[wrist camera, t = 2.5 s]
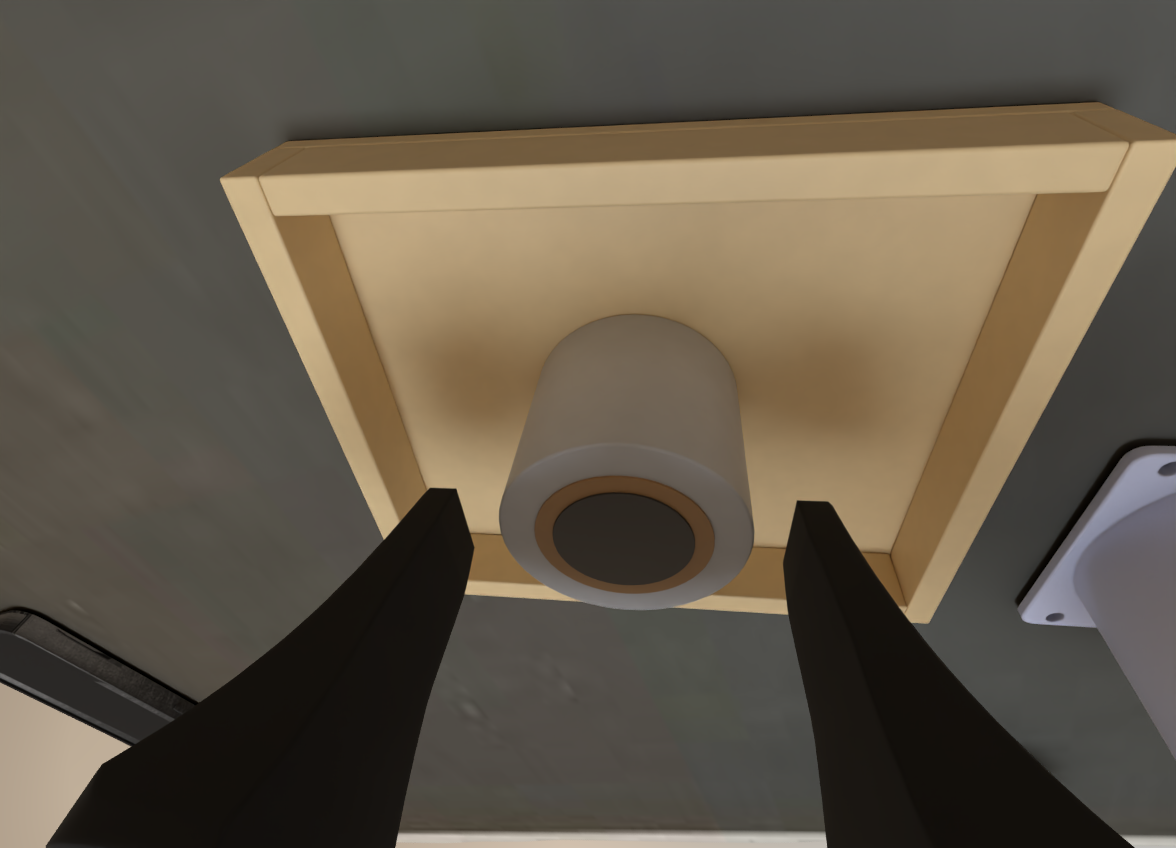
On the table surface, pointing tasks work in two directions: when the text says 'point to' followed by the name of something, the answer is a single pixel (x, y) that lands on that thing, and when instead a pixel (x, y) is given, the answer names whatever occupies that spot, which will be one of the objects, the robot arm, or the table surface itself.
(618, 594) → the tape roll
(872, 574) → the robot arm
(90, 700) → the phone
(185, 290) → the table surface
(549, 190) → the tray
